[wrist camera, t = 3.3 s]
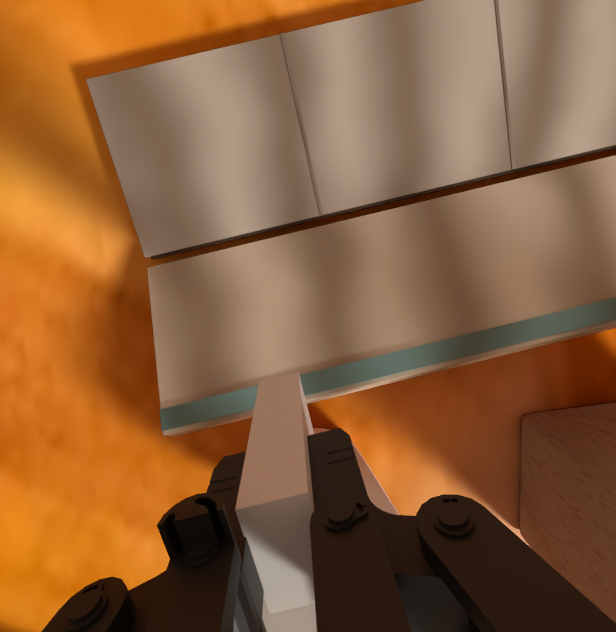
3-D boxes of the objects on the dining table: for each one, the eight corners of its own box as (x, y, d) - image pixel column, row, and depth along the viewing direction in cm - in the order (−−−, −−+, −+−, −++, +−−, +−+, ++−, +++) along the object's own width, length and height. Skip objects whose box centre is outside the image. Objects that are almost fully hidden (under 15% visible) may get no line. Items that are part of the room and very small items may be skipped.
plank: (176, 436, 19) (161, 435, 17) (159, 279, 22) (145, 266, 20) (739, 297, 19) (777, 283, 18) (648, 162, 22) (673, 140, 21)
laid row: (155, 258, 22) (145, 260, 20) (101, 91, 20) (85, 78, 18) (641, 141, 22) (669, 134, 21) (636, -34, 20) (666, -57, 19)
